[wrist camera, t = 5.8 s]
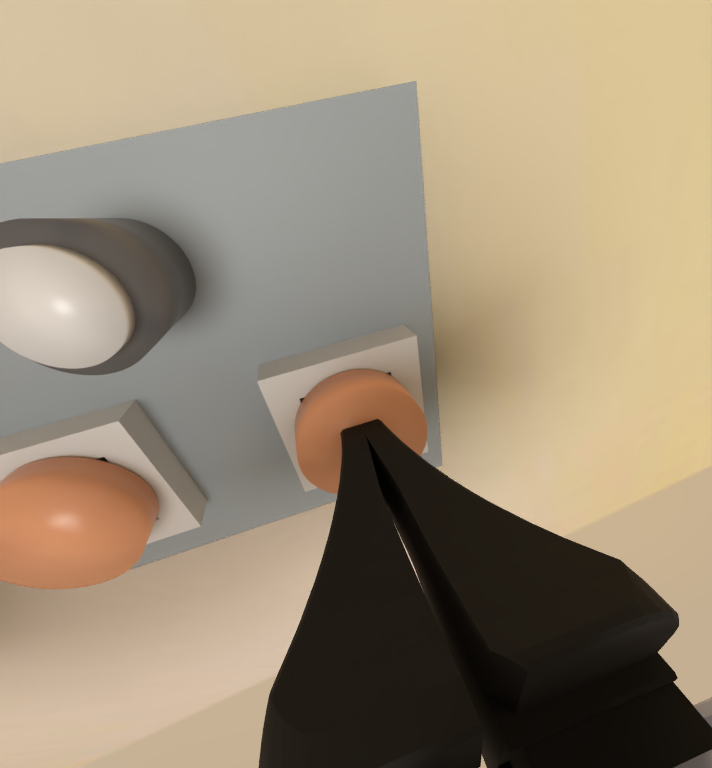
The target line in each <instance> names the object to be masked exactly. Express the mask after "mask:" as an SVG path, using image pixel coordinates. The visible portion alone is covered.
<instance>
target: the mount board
mask: <svg viewBox="0 0 712 768" xmlns="http://www.w3.org/2000/svg"><path fill="white" fill-rule="evenodd" d="M20 218H127V219H134V220H138V221H141V222H144V223H147V224H149V225H151V226H153V227H155V228H157V229H159V230H160V231H162V232H164V233H165V234H166V235H168V236H169V237H170V238H171V239H172V240H173V241H174V242H176V243H177V244H178V246H179V247H180V248H181V249H182V250H183V252H184V253H185V255H186V256H187V258H188V260H189V261H190V263H191V266H192V268H193V271H194V275H195V280H196V293H195V297H194V300H193V303H192V305H191V307H190V308H189V310H188V311H187V312H186V313H185V314H184V315H183V316H182V317H181V319H180V320H179V321H178V322H177V323H176V324H175V325H174V326H173V327H172V328H171V329H170V330H169V331H168V332H167V333H166V334H165V335H164V336H163V337H162V339H161V340H160V341H159V342H158V343H157V344H156V345H155V346H154V347H153V348H152V349H151V350H150V351H149V352H148V353H147V354H146V355H145V356H144V357H143V358H142V359H141V360H140V361H139V362H137V363H136V364H134V365H133V366H131V367H129V368H127V369H125V370H122V371H119V372H115V373H111V374H105V375H78V374H71V373H66V372H61V371H58V370H54V369H51V368H48V367H46V366H43V365H40V364H38V363H36V362H34V361H32V360H29V359H27V358H26V357H24V356H22V355H20V354H18V353H16V352H14V351H13V350H11V349H10V348H8V347H7V346H5V345H4V344H2V343H1V342H0V482H1V481H2V480H3V479H4V478H5V477H6V476H7V475H8V474H10V473H11V472H13V471H14V470H16V469H18V468H20V467H22V466H24V465H26V464H29V463H32V462H35V461H39V460H43V459H50V458H58V457H81V458H90V459H98V458H102V457H105V458H106V459H107V460H108V462H109V463H112V464H115V465H117V466H120V467H123V468H125V469H127V470H129V471H131V472H132V473H134V474H136V475H137V476H139V477H140V478H141V479H143V480H144V481H145V482H146V483H147V484H148V485H149V486H150V487H151V488H152V490H153V491H154V493H155V495H156V497H157V500H158V504H159V511H158V516H157V518H156V521H155V524H154V526H153V529H152V531H151V534H150V536H149V539H148V541H147V544H146V546H145V549H144V551H143V554H142V556H141V557H140V559H139V560H138V562H137V563H136V564H135V565H134V566H133V567H131V568H130V569H133V568H136V567H139V566H142V565H145V564H148V563H151V562H154V561H157V560H160V559H163V558H166V557H169V556H172V555H175V554H178V553H181V552H184V551H187V550H190V549H193V548H196V547H199V546H202V545H205V544H208V543H211V542H214V541H217V540H220V539H223V538H226V537H229V536H232V535H235V534H238V533H241V532H244V531H247V530H250V529H253V528H256V527H259V526H262V525H265V524H268V523H271V522H274V521H277V520H280V519H283V518H286V517H289V516H292V515H295V514H298V513H301V512H304V511H307V510H310V509H313V508H316V507H319V506H322V505H325V504H328V503H331V502H334V501H336V500H337V494H334V493H330V492H327V491H324V490H322V489H320V488H318V487H316V486H315V485H313V484H312V483H311V482H310V481H309V480H307V478H306V477H305V476H304V475H303V473H302V471H301V469H300V467H299V464H298V460H297V452H296V440H295V418H296V414H297V411H298V408H299V406H300V405H301V403H302V401H303V400H304V398H305V397H306V395H307V394H308V393H309V392H310V391H311V390H312V389H313V388H314V387H315V386H317V385H318V384H319V383H320V382H322V381H323V380H325V379H327V378H329V377H331V376H333V375H335V374H338V373H341V372H344V371H348V370H354V369H372V370H377V371H381V372H384V373H386V374H389V375H391V376H392V377H394V378H395V379H397V380H398V381H399V382H400V383H401V384H402V385H403V386H404V387H405V388H406V390H407V391H408V392H409V394H410V395H411V396H412V398H413V399H414V400H415V402H416V403H417V404H418V406H419V407H420V408H421V410H422V412H423V413H424V415H425V418H426V421H427V427H428V435H427V441H426V445H425V448H424V450H423V452H422V454H421V457H422V458H423V459H424V460H426V461H427V462H428V463H430V464H431V465H432V466H434V467H438V466H441V465H442V453H441V438H440V423H439V408H438V394H437V379H436V364H435V349H434V335H433V320H432V305H431V290H430V276H429V261H428V246H427V232H426V217H425V202H424V187H423V173H422V158H421V143H420V128H419V114H418V99H417V84H416V81H413V82H408V83H403V84H398V85H393V86H388V87H383V88H378V89H373V90H368V91H363V92H358V93H353V94H348V95H343V96H338V97H333V98H328V99H323V100H318V101H313V102H308V103H303V104H298V105H293V106H288V107H283V108H277V109H272V110H267V111H262V112H257V113H252V114H247V115H242V116H237V117H232V118H227V119H222V120H217V121H212V122H207V123H202V124H197V125H192V126H187V127H182V128H177V129H172V130H167V131H162V132H157V133H152V134H147V135H142V136H137V137H132V138H127V139H122V140H117V141H112V142H107V143H102V144H97V145H92V146H87V147H81V148H76V149H71V150H66V151H61V152H56V153H51V154H46V155H41V156H36V157H31V158H26V159H21V160H16V161H11V162H6V163H1V164H0V222H4V221H7V220H13V219H20ZM130 569H129V570H130Z"/></svg>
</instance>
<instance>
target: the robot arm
mask: <svg viewBox="0 0 712 768" xmlns="http://www.w3.org/2000/svg"><path fill="white" fill-rule="evenodd" d="M340 435H341V442H342V460H341V471H340V481H339V488H338V494H337V500H336V506H335V511H334V515H333V520H332V524H331V528H330V532H329V536H328V540H327V544H326V547H325V550H324V554H323V557H322V561H321V564H320V567H319V570H318V573H317V576H316V579H315V582H314V585H313V588H312V590H311V593H310V596H309V599H308V601H307V604H306V607H305V610H304V612H303V615H302V618H301V620H300V623H299V626H298V628H297V631H296V633H295V635H294V638H293V640H292V642H291V645H290V647H289V649H288V652H287V654H286V656H285V659H284V661H283V663H282V666H281V668H280V670H279V673H278V675H277V677H276V680H275V682H274V684H273V687H272V689H271V692H270V695H269V700H268V705H267V710H266V715H265V721H264V728H263V734H262V741H261V752H260V760H259V768H479V767H480V764H481V755H482V756H483V758H484V761H485V764H486V766H487V768H712V697H711V698H709V699H707V700H705V701H703V702H700V703H698V704H696V705H694V706H693V705H692V704H691V702H690V701H689V700H688V699H687V698H686V697H685V695H684V694H683V693H682V692H681V691H680V690H679V688H678V687H677V686H676V685H675V684H674V682H673V681H675V680H676V679H677V676H676V674H675V672H674V671H673V670H672V668H671V667H670V666H669V665H668V664H667V663H666V662H665V661H664V659H663V658H662V657H661V656H660V655H659V654H658V651H659V650H660V649H661V648H662V647H663V645H664V644H665V643H666V642H667V641H668V640H669V638H670V637H671V636H672V635H673V634H674V633H675V631H676V630H677V628H678V627H679V617H678V614H677V612H676V611H674V609H673V608H672V607H670V605H669V604H667V603H666V602H665V600H664V599H663V598H662V597H661V596H659V595H658V594H657V593H656V591H655V590H654V589H652V588H651V587H650V586H649V585H648V584H647V583H646V582H645V581H644V580H643V579H642V578H640V577H639V576H638V575H637V574H636V573H635V572H633V571H632V570H631V569H630V568H629V567H627V566H626V565H625V564H624V563H623V562H622V561H621V560H619V559H616V558H614V557H611V556H609V555H606V554H604V553H601V552H598V551H596V550H593V549H591V548H588V547H586V546H583V545H581V544H578V543H576V542H573V541H571V540H568V539H566V538H563V537H561V536H559V535H557V534H554V533H552V532H550V531H548V530H545V529H543V528H541V527H539V526H537V525H534V524H532V523H530V522H528V521H526V520H524V519H522V518H520V517H518V516H516V515H514V514H512V513H510V512H508V511H506V510H504V509H502V508H500V507H498V506H497V505H495V504H493V503H491V502H489V501H487V500H485V499H484V498H482V497H480V496H478V495H477V494H475V493H473V492H472V491H470V490H468V489H467V488H465V487H463V486H462V485H460V484H459V483H457V482H455V481H454V480H452V479H451V478H449V477H448V476H446V475H445V474H444V473H442V472H441V471H439V470H438V469H437V468H435V467H434V466H432V465H431V464H430V463H428V462H427V461H426V460H424V459H423V458H422V457H421V456H419V455H418V454H417V453H416V452H414V451H413V450H412V449H411V448H410V447H408V446H407V445H406V444H405V443H404V442H403V441H401V440H400V439H399V438H398V437H397V436H396V435H395V434H394V433H393V432H392V431H391V430H390V429H389V428H388V427H387V426H386V425H385V424H384V423H383V422H382V421H381V420H379V419H375V420H372V421H369V422H366V423H363V424H359V425H356V426H353V427H350V428H346V429H343V430H342V431H341V433H340ZM394 524H395V525H394ZM395 526H396V527H395ZM396 528H397V529H396ZM397 530H398V532H399V534H400V537H401V539H402V541H403V543H404V545H405V547H406V549H407V551H408V554H409V556H410V558H411V561H412V563H413V565H414V568H415V570H416V573H417V576H418V578H419V581H420V583H419V581H418V578H417V576H416V574H415V571H414V569H413V567H412V565H411V562H410V560H409V558H408V555H407V553H406V551H405V548H404V546H403V544H402V541H401V539H400V537H399V534H398V532H397ZM420 584H421V585H420ZM421 586H422V588H421ZM422 589H423V590H422Z"/></svg>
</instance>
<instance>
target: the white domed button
mask: <svg viewBox="0 0 712 768" xmlns="http://www.w3.org/2000/svg"><path fill="white" fill-rule="evenodd" d="M195 293H196V280H195V275H194V271H193V268H192V266H191V263H190V261H189V260H188V258H187V256H186V255H185V253H184V252H183V250H182V249H181V248H180V247H179V246H178V244H177V243H176V242H174V241H173V240H172V239H171V238H170V237H169V236H168V235H166V234H165V233H164V232H162V231H160V230H159V229H157V228H155V227H153V226H151V225H149V224H147V223H144V222H141V221H138V220H134V219H127V218H20V219H13V220H7V221H4V222H0V342H1V343H2V344H4V345H5V346H7V347H8V348H10V349H11V350H13V351H14V352H16V353H18V354H20V355H22V356H24V357H26V358H27V359H29V360H32V361H34V362H36V363H38V364H40V365H43V366H46V367H48V368H51V369H54V370H58V371H61V372H66V373H71V374H78V375H105V374H111V373H115V372H119V371H122V370H125V369H127V368H129V367H131V366H133V365H134V364H136V363H137V362H139V361H140V360H141V359H142V358H143V357H144V356H145V355H146V354H147V353H148V352H149V351H150V350H151V349H152V348H153V347H154V346H155V345H156V344H157V343H158V342H159V341H160V340H161V339H162V337H163V336H164V335H165V334H166V333H167V332H168V331H169V330H170V329H171V328H172V327H173V326H174V325H175V324H176V323H177V322H178V321H179V320H180V319H181V317H182V316H183V315H184V314H185V313H186V312H187V311H188V310H189V308H190V307H191V305H192V303H193V300H194V297H195Z"/></svg>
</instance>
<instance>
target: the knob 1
mask: <svg viewBox="0 0 712 768" xmlns="http://www.w3.org/2000/svg"><path fill="white" fill-rule="evenodd" d="M158 511H159V504H158V500H157V497H156V495H155V493H154V491H153V490H152V488H151V487H150V486H149V485H148V484H147V483H146V482H145V481H144V480H143V479H141V478H140V477H139V476H137V475H136V474H134V473H132V472H131V471H129V470H127V469H125V468H123V467H120V466H117V465H115V464H112V463H109V462H108V460H107V459H106V458H105V457H102V458H98V459H90V458H81V457H58V458H50V459H43V460H39V461H35V462H32V463H29V464H26V465H24V466H22V467H20V468H18V469H16V470H14V471H13V472H11V473H10V474H8V475H7V476H6V477H5V478H4V479H3V480H2V481H1V482H0V580H2V581H5V582H8V583H12V584H16V585H20V586H26V587H33V588H44V589H67V588H78V587H85V586H90V585H94V584H98V583H102V582H105V581H108V580H110V579H113V578H115V577H117V576H119V575H121V574H123V573H124V572H126V571H128V570H129V569H130V568H131V567H133V566H134V565H135V564H136V563H137V562H138V560H139V559H140V557H141V556H142V554H143V551H144V549H145V546H146V544H147V541H148V539H149V536H150V534H151V531H152V529H153V526H154V524H155V521H156V518H157V516H158Z"/></svg>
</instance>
